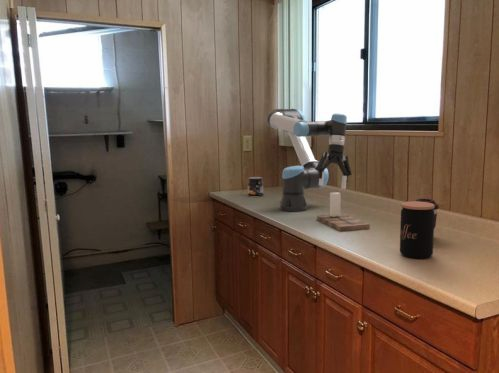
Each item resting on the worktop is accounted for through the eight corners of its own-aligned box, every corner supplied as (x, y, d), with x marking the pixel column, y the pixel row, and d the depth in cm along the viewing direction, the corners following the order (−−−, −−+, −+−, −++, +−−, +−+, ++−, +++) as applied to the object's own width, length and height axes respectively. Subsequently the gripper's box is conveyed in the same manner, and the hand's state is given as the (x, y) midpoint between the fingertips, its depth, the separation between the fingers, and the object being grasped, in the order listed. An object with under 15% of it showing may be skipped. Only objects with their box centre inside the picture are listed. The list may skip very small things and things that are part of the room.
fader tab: (329, 215, 198) (329, 192, 196) (337, 214, 199) (337, 192, 197) (332, 216, 195) (332, 193, 193) (340, 216, 196) (340, 193, 194)
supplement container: (244, 195, 275) (244, 178, 273) (256, 193, 282) (255, 176, 280) (255, 197, 267) (255, 179, 266) (266, 195, 274) (266, 177, 273)
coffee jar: (394, 251, 148) (395, 201, 145) (423, 249, 149) (424, 200, 146) (408, 260, 138) (409, 207, 135) (438, 259, 138) (441, 206, 136)
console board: (317, 219, 200) (317, 215, 200) (343, 217, 204) (343, 213, 203) (340, 231, 177) (340, 226, 177) (369, 228, 181) (369, 223, 180)
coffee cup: (440, 240, 160) (441, 202, 158) (413, 239, 162) (414, 202, 160) (434, 233, 170) (435, 197, 168) (408, 233, 172) (409, 197, 170)
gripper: (319, 140, 198) (315, 183, 197) (361, 148, 208) (357, 190, 207) (311, 141, 204) (306, 184, 203) (351, 149, 215) (347, 190, 214)
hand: (332, 187), depth 205 cm, fingers open, 13 cm apart
